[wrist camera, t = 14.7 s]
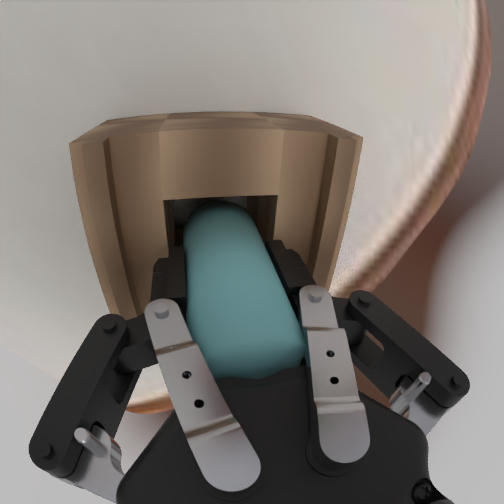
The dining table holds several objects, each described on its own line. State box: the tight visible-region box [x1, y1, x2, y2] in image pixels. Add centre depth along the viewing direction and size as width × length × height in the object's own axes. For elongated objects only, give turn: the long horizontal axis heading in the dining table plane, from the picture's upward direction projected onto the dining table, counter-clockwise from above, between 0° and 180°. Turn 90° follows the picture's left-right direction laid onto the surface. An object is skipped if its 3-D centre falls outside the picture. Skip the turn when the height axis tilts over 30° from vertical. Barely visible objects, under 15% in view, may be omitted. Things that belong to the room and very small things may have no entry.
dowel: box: [183, 201, 306, 379], centre depth 12 cm, size 4×4×9 cm
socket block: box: [69, 112, 363, 320], centre depth 17 cm, size 14×12×8 cm
